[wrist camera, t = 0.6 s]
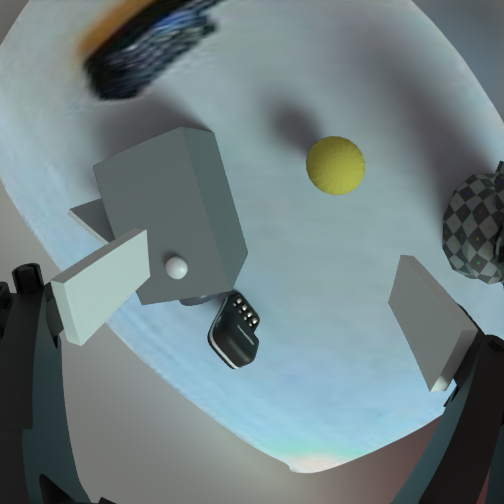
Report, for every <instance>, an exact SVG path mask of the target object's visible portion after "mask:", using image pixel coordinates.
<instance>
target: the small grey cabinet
mask: <svg viewBox="0 0 504 504" xmlns="http://www.w3.org/2000/svg"><path fill="white" fill-rule="evenodd" d="M93 169H94V172H95V176H96V180H97V183H98V187H99V190H100V194H101V197H102V200H103V203H104V207H105V210H106V213H107V216H108V219H109V222H110V225H111V228H112V231H113V234H114V237H115V239H117V238H118V237H120V236H122V235H124V234H125V233H127V232H129V231H131V230H132V229H134V228H137V229H147V245H148V258H149V269H150V277H149V278H148V279H147V280H146V281H145V282H144V283H143V284H142V285H141V286H140V287H139V288H138V289H137V290H136V293H137V295H138V297H139V300H140V302H141V304H142V305H147V304H153V303H160V302H167V301H173V300H179V301H180V303H181V304H182V305H186V306H192V305H198V304H202V303H205V302H207V301H209V300H211V299H213V298H215V297H216V296H217V295H219V294H220V293H223V292H229V291H231V290H232V288H233V286H234V284H235V281H236V279H237V277H238V275H239V272H240V270H241V268H242V266H243V264H244V261H245V259H246V257H247V255H248V251H247V247H246V244H245V240H244V237H243V233H242V230H241V226H240V223H239V219H238V216H237V212H236V209H235V205H234V202H233V198H232V195H231V191H230V188H229V184H228V181H227V177H226V174H225V170H224V167H223V163H222V160H221V156H220V153H219V149H218V146H217V142H216V138H215V135H214V133H213V132H208V131H203V130H199V129H193V128H188V127H183V126H181V127H178V128H175V129H173V130H170V131H168V132H165V133H163V134H160V135H158V136H156V137H153V138H151V139H148V140H146V141H144V142H142V143H139V144H137V145H135V146H133V147H130V148H128V149H126V150H124V151H122V152H120V153H118V154H116V155H113V156H111V157H109V158H107V159H105V160H103V161H101V162H100V163H98V164H96V165H94V166H93Z"/></svg>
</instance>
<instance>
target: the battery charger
mask: <svg viewBox="0 0 504 504" xmlns="http://www.w3.org/2000/svg"><path fill="white" fill-rule="evenodd" d="M259 321H260V318H259V316H258V315H257V314H256V312H255V311H254V310H253V308H252V307H251V306H250V305H249V303H248V302H247V301H246V299H245V298H244V297H243V296H242V295H241V294H234V295H231V296H228V297H226V299H224V302H223V304H222V306H221V308H220V310H219V312H218V314H217V315H216V317H215V319H214V321H213V323H212V325H211V327H210V330H209V332H208V336H207V338H208V343H209V345H210V346H211V348H212V349H213V350H214V351H215V352H216V353H217V355H218V356H219V357H220V358H221V359H222V360H223V361H224V362H225V363H226V364H227V365H228V366H229V367H230V368H232V369H239V368H241V367H242V366H245V365H247V364H249V363H251V362H252V361H253V360H254V359H255V356H256V353H257V349H258V345H259V340H258V338H257V337H256V336H255V334H254V331H255V329H256V328H257V326H258V324H259Z"/></svg>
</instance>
